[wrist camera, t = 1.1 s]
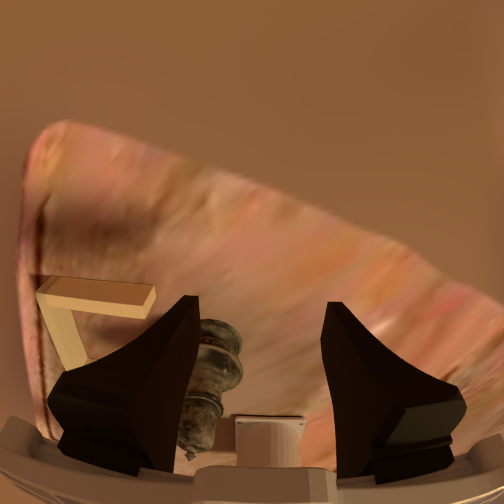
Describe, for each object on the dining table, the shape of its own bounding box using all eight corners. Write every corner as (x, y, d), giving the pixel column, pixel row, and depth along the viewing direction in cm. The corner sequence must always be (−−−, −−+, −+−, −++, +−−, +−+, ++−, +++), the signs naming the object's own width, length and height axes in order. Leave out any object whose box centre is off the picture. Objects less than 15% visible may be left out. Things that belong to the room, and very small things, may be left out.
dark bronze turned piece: (185, 363, 29) (156, 471, 18) (175, 314, 26) (133, 432, 15) (246, 366, 28) (237, 480, 18) (244, 317, 26) (233, 444, 15)
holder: (171, 378, 30) (164, 400, 27) (82, 363, 30) (71, 381, 27) (154, 285, 25) (142, 306, 22) (51, 275, 25) (34, 292, 22)
